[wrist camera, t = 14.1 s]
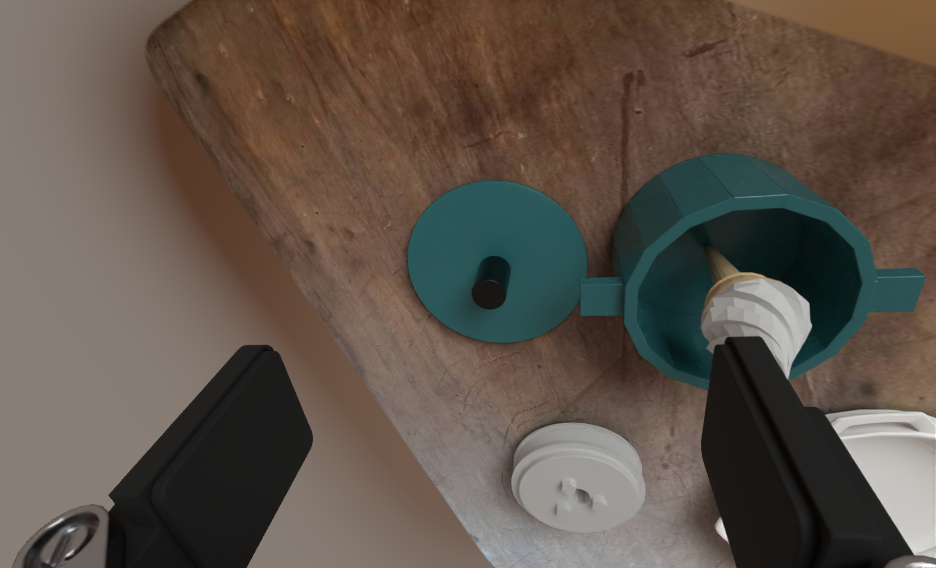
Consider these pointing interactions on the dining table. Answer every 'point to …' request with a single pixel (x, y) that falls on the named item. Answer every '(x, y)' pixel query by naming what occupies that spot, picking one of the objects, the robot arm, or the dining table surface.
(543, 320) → the pot lid
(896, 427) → the pan
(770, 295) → the ice cream cone
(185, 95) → the dining table surface
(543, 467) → the lid
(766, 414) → the robot arm
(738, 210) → the pot
